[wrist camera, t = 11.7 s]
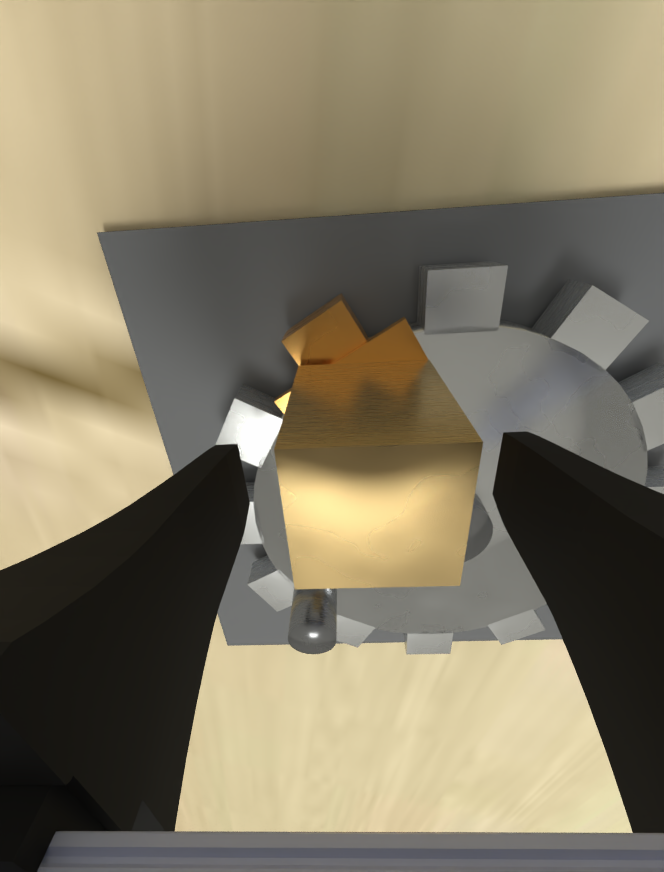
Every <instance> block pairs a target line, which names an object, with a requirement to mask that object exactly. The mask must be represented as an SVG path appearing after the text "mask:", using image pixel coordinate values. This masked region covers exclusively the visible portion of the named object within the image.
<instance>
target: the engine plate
mask: <svg viewBox="0 0 664 872" xmlns="http://www.w3.org/2000/svg"><path fill="white" fill-rule="evenodd" d="M97 234H98V237H99V240H100V244H101V247H102V250H103V253H104V256H105V259H106V262H107V266H108V269H109V272H110V275H111V278H112V281H113V285H114V288H115V291H116V294H117V297H118V300H119V304H120V307H121V310H122V313H123V316H124V319H125V322H126V326H127V329H128V332H129V335H130V338H131V341H132V345H133V348H134V351H135V354H136V357H137V360H138V364H139V367H140V370H141V373H142V376H143V379H144V382H145V386H146V389H147V392H148V395H149V398H150V401H151V405H152V408H153V411H154V414H155V417H156V420H157V424H158V427H159V430H160V433H161V436H162V439H163V443H164V446H165V449H166V452H167V455H168V458H169V461H170V465H171V468H172V471H173V474H176V473H177V472H178V471H180V470H181V469H182V468H184V467H185V466H186V465H188V464H189V463H190V462H192V461H193V460H195V459H196V458H197V457H199V456H200V455H201V454H203V453H204V452H206V451H207V450H208V449H210V448H211V447H213V446H215V445H216V442H217V440H218V437H219V435H220V433H221V430H222V428H223V425H224V423H225V420H226V418H227V415H228V413H229V410H230V408H231V405H232V403H233V401H234V398H235V396H236V395H237V393H238V391H239V390H240V388H241V386H242V385H243V384H245V385H247V386H249V387H251V388H254V389H256V390H258V391H260V392H262V393H265V394H267V395H269V396H271V397H273V398H277V397H278V396H280V395H281V394H283V393H284V392H286V391H288V390H289V389H291V388H292V386H293V383H294V379H295V376H296V372H297V369H298V366H299V365H298V364H297V363H296V361H295V360H294V358H293V357H292V356H291V354H290V353H289V352H288V350H287V349H286V347H285V346H284V345H283V343H282V342H281V341H282V339H283V337H284V335H285V333H286V331H287V330H289V329H290V328H292V327H293V326H295V325H296V324H298V323H299V322H300V321H302V320H303V319H305V318H306V317H308V316H309V315H311V314H312V313H313V312H315V311H316V310H318V309H319V308H321V307H322V306H324V305H325V304H326V303H328V302H329V301H331V300H332V299H334V298H335V297H337V296H338V295H340V294H341V293H342V295H343V297H344V298H345V300H346V302H347V303H348V305H349V306H350V308H351V310H352V311H353V313H354V315H355V316H356V318H357V319H358V321H359V323H360V324H361V326H362V328H363V329H364V331H365V332H366V334H367V336H368V337H371V336H373V335H376V334H377V333H379V332H381V331H382V330H384V329H385V328H387V327H388V326H390V325H392V324H393V323H395V322H396V321H398V320H399V319H401V318H403V317H405V318H406V320H407V322H408V324H410V323H414V322H417V308H418V286H419V266H428V265H443V264H459V263H474V262H490V261H492V262H496V263H500V264H504V265H508V269H507V276H506V283H505V289H504V296H503V303H502V309H501V316H500V320H503V321H510V322H513V323H516V324H520V325H523V326H526V327H530V328H532V327H533V326H534V325H535V323H536V322H537V321H538V319H539V318H540V317H541V315H542V314H543V313H544V311H545V310H546V309H547V307H548V306H549V305H550V303H551V302H552V301H553V299H554V298H555V297H556V295H557V294H558V293H559V291H560V290H561V289H562V287H563V286H564V285H565V283H566V282H567V281H568V279H570V280H574V281H578V282H582V283H586V284H590V285H593V286H595V287H596V288H598V289H599V290H601V291H603V292H604V293H606V294H607V295H609V296H611V297H612V298H614V299H615V300H617V301H618V302H620V303H622V304H623V305H625V306H626V307H628V308H630V309H631V310H633V311H634V312H636V313H637V314H639V315H641V316H642V317H644V318H645V319H647V320H649V322H648V323H647V324H646V325H645V326H644V327H643V328H642V330H641V331H640V332H639V333H638V334H637V335H636V336H635V337H634V339H633V340H632V341H631V342H630V343H629V344H628V345H627V346H626V348H625V349H624V350H623V351H622V352H621V353H620V354H619V355H618V356H617V358H616V359H615V360H614V361H613V362H612V363H611V364H610V365H609V367H608V368H607V369H606V371H607V372H608V373H609V374H610V375H611V376H612V377H613V378H614V379H615V380H616V381H617V382H620V381H622V380H624V379H626V378H628V377H630V376H632V375H634V374H636V373H638V372H640V371H642V370H644V369H646V368H649V367H651V366H653V365H655V364H657V363H661V364H663V365H664V193H657V194H643V195H629V196H614V197H600V198H586V199H572V200H557V201H543V202H529V203H514V204H500V205H486V206H471V207H457V208H443V209H428V210H414V211H400V212H385V213H371V214H357V215H342V216H328V217H314V218H299V219H285V220H271V221H256V222H242V223H228V224H213V225H199V226H185V227H170V228H156V229H142V230H127V231H113V232H99V233H97ZM241 462H242V467H243V472H244V477H245V482H255V479H256V474H257V470H258V467H257V466H255V465H252V464H250V463H248V462H245V461H243V460H241ZM652 466H664V444H662V445H659V446H657V447H655V448H653V449H650V450H648V451H647V467H652ZM265 556H267V553H266V551H265V549H264V547H263V545H262V544H240V547H239V550H238V553H237V556H236V559H235V562H234V565H233V568H232V571H231V574H230V577H229V580H228V583H227V585H226V588H225V591H224V594H223V597H222V600H221V603H220V606H219V609H218V612H217V613H218V616H219V619H220V623H221V626H222V629H223V632H224V635H225V638H226V641H227V645H228V646H229V645H282V644H289V642H288V631H289V623H290V615H291V608H292V606H289V607H287V608H285V609H282V610H280V611H278V612H277V611H276V610H275V609H274V608H273V607H271V606H270V605H269V604H268V603H267V602H266V601H265V600H264V599H263V598H262V597H260V596H259V595H258V594H257V593H256V592H255V591H254V590H253V589H252V588H250V587H249V586H248V585H247V584H248V580H249V576H250V572H251V568H252V565H253V562H254V561H256V560H258V559H260V558H263V557H265ZM535 610H536V612H537V614H538V616H539V618H540V620H541V622H542V624H543V625H544V627H545V629H546V630H544V631H541V632H538V633H535V634H532V635H529V636H526V637H523V638H520V639H517V640H543V639H562V636H561V634H560V632H559V629H558V627H557V625H556V622H555V620H554V618H553V615H552V613H551V611H550V609H549V607H548V605H547V604H545V605H543V606H541V607H539V608H537V609H535ZM491 640H498V639H497V638H496V636H495V635H494V634H493V632H492V631H491V629H490V628H489V627H483V628H479V629H474V630H469V631H462V632H455V633H453V638H452V641H491ZM386 642H404V636H403V633H397V632H389V631H383V630H378V629H374V630H373V631H372V632H371V633H370V634H369V635H368V637H367V638H366V639H365V640H364V641H363V642H362V643H386ZM336 643H342V642H339V641H336Z"/></svg>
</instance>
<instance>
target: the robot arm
mask: <svg viewBox="0 0 664 872" xmlns="http://www.w3.org/2000/svg"><path fill="white" fill-rule="evenodd" d="M492 494H493V497H494V500H495V503H496V506H497V509H498V511H499V514H500V517H501V519H502V522H503V524H504V526H505V528H506V530H507V532H508V534H509V536H510V538H511V540H512V541H513V543H514V545H515V547H516V549H517V551H518V552H519V554H520V556H521V558H522V560H523V561H524V563H525V565H526V567H527V569H528V570H529V572H530V574H531V576H532V578H533V579H534V581H535V583H536V585H537V587H538V588H539V590H540V592H541V594H542V596H543V597H544V599H545V601H546V603H547V605H548V607H549V609H550V611H551V613H552V615H553V618H554V620H555V622H556V625H557V627H558V629H559V632H560V634H561V636H562V639H563V641H564V643H565V646H566V648H567V650H568V653H569V655H570V658H571V660H572V663H573V665H574V668H575V670H576V673H577V675H578V678H579V680H580V683H581V685H582V688H583V690H584V693H585V695H586V698H587V701H588V703H589V706H590V709H591V712H592V714H593V717H594V720H595V723H596V725H597V728H598V731H599V734H600V736H601V739H602V742H603V745H604V747H605V750H606V753H607V756H608V758H609V761H610V764H611V767H612V770H613V773H614V776H615V779H616V783H617V786H618V789H619V792H620V795H621V798H622V801H623V804H624V807H625V810H626V813H627V816H628V819H629V822H630V825H631V828H632V832H633V833H485V832H174V831H175V824H176V817H177V811H178V805H179V799H180V793H181V787H182V781H183V775H184V769H185V763H186V757H187V752H188V746H189V741H190V736H191V730H192V725H193V720H194V714H195V709H196V704H197V699H198V694H199V690H200V685H201V680H202V675H203V671H204V666H205V661H206V657H207V652H208V648H209V644H210V640H211V635H212V631H213V627H214V623H215V619H216V616H217V612H218V609H219V606H220V603H221V600H222V597H223V594H224V591H225V588H226V585H227V583H228V580H229V577H230V574H231V571H232V568H233V565H234V562H235V559H236V556H237V553H238V550H239V547H240V544H241V541H242V538H243V535H244V531H245V526H246V521H247V516H248V510H249V505H250V501H249V496H248V491H247V486H246V482H245V477H244V472H243V467H242V462H241V458H240V453H239V448H238V444H223V445H215V446H213V447H211V448H210V449H208V450H207V451H206V452H204V453H203V454H201V455H200V456H199V457H197V458H196V459H195V460H193V461H192V462H190V463H189V464H188V465H186V466H185V467H184V468H182V469H181V470H180V471H178V472H177V473H176V474H174V475H173V476H172V477H170V478H169V479H167V480H166V481H165V482H163V483H162V484H160V485H159V486H157V487H156V488H154V489H153V490H152V491H150V492H149V493H147V494H146V495H144V496H143V497H141V498H140V499H138V500H137V501H135V502H134V503H132V504H131V505H129V506H128V507H126V508H124V509H123V510H121V511H119V512H118V513H116V514H114V515H113V516H111V517H109V518H108V519H106V520H104V521H102V522H100V523H99V524H97V525H95V526H93V527H92V528H90V529H88V530H86V531H84V532H82V533H80V534H78V535H76V536H74V537H72V538H70V539H68V540H66V541H64V542H62V543H60V544H58V545H56V546H54V547H52V548H50V549H47V550H45V551H43V552H41V553H39V554H37V555H35V556H33V557H31V558H28V559H26V560H24V561H21V562H19V563H17V564H14V565H12V566H10V567H7V568H5V569H3V570H0V872H664V494H662V493H660V492H657V491H655V490H652V489H650V488H648V487H646V486H643V485H641V484H639V483H636V482H634V481H632V480H630V479H627V478H625V477H623V476H621V475H618V474H616V473H614V472H612V471H610V470H608V469H606V468H603V467H601V466H599V465H597V464H595V463H593V462H591V461H589V460H587V459H585V458H583V457H581V456H579V455H577V454H575V453H573V452H571V451H569V450H567V449H565V448H563V447H561V446H559V445H557V444H555V443H553V442H551V441H548V440H546V439H544V438H542V437H540V436H538V435H535V434H533V433H530V432H527V431H523V432H503V437H502V442H501V448H500V454H499V459H498V465H497V470H496V476H495V481H494V487H493V493H492Z"/></svg>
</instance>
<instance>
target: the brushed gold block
mask: <svg viewBox="0 0 664 872" xmlns="http://www.w3.org/2000/svg"><path fill="white" fill-rule="evenodd" d="M482 447H483V441H482V439H481V438H480V436H479V435H478V433H477V432H476V430H475V429H474V427H473V425H472V424H471V422H470V421H469V419H468V418H467V416H466V415H465V413H464V412H463V410H462V409H461V407H460V406H459V404H458V403H457V401H456V400H455V398H454V396H453V395H452V393H451V392H450V390H449V389H448V387H447V386H446V384H445V383H444V381H443V380H442V378H441V377H440V375H439V374H438V372H437V371H436V369H435V367H434V366H433V364H432V363H431V361H430V360H411V361H389V362H367V363H345V364H323V365H301V366H298V369H297V372H296V376H295V379H294V383H293V386H292V389H291V393H290V396H289V400H288V403H287V407H286V410H285V413H284V417H283V420H282V424H281V427H280V431H279V434H278V437H277V441H276V444H275V448H274V453H275V460H276V466H277V473H278V480H279V487H280V493H281V500H282V507H283V514H284V521H285V527H286V534H287V541H288V548H289V554H290V561H291V568H292V575H293V582H294V588H295V589H334V588H383V587H431V586H460V583H461V577H462V571H463V565H464V559H465V552H466V546H467V540H468V534H469V527H470V521H471V515H472V509H473V503H474V496H475V490H476V484H477V478H478V471H479V465H480V459H481V453H482Z"/></svg>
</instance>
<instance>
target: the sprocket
mask: <svg viewBox="0 0 664 872" xmlns="http://www.w3.org/2000/svg"><path fill="white" fill-rule="evenodd" d="M507 269H508V265H504V264H500V263H496V262H492V261H490V262H474V263H459V264H443V265H428V266H419V286H418V308H417V322H414V323H410V324H408V322H407V320H406V318H405V317H403V318H401V319H399V320H398V321H396V322H395V323H393V324H392V325H390V326H388V327H387V328H385V329H384V330H382V331H381V332H379V333H377V334H376V335H373V336H371V337H368V336H367V334H366V332H365V331H364V329H363V328H362V326H361V324H360V323H359V321H358V319H357V318H356V316H355V315H354V313H353V311H352V310H351V308H350V306H349V305H348V303H347V302H346V300H345V298H344V297H343V295H342V293H341V294H340V295H338V296H337V297H335V298H334V299H332V300H331V301H329V302H328V303H326V304H325V305H324V306H322V307H321V308H319V309H318V310H316V311H315V312H313V313H312V314H311V315H309V316H308V317H306V318H305V319H303V320H302V321H300V322H299V323H298V324H296V325H295V326H293V327H292V328H290V329H289V330H287V331H286V333H285V335H284V337H283V339H282V341H281V342H282V343H283V345H284V346H285V347H286V349H287V350H288V352H289V353H290V354H291V356H292V357H293V358H294V360H295V361H296V363H297V364H298V365H299V366H301V365H323V364H345V363H367V362H389V361H411V360H430V361H431V363H432V364H433V366H434V367H435V369H436V371H437V372H438V374H439V375H440V377H441V378H442V380H443V381H444V383H445V384H446V386H447V387H448V389H449V390H450V392H451V393H452V395H453V396H454V398H455V400H456V401H457V403H458V404H459V406H460V407H461V409H462V410H463V412H464V413H465V415H466V416H467V418H468V419H469V421H470V422H471V424H472V425H473V427H474V429H475V430H476V432H477V433H478V435H479V436H480V438H481V439H482V441H483V447H482V453H481V459H480V465H479V471H478V478H477V484H476V490H475V496H474V503H473V509H472V515H471V521H470V527H469V534H468V540H467V546H466V552H465V559H464V565H463V571H462V577H461V583H460V586H431V587H383V588H334V589H295V588H294V582H293V575H292V568H291V561H290V554H289V548H288V541H287V534H286V527H285V521H284V514H283V507H282V500H281V493H280V487H279V480H278V473H277V466H276V460H275V453H274V448H275V444H276V441H277V437H278V434H279V431H280V427H281V424H282V420H283V417H284V413H285V410H286V407H287V403H288V400H289V396H290V393H291V389H292V388H291V389H289V390H288V391H286V392H284V393H283V394H281V395H280V396H278V397H277V398H273V397H271V396H269V395H267V394H265V393H262V392H260V391H258V390H256V389H254V388H251V387H249V386H247V385H245V384H243V385H242V386H241V388H240V390H239V391H238V393H237V395H236V396H235V398H234V401H233V403H232V405H231V408H230V410H229V413H228V415H227V418H226V420H225V423H224V425H223V428H222V430H221V433H220V435H219V437H218V440H217V442H216V445H223V444H238V448H239V453H240V458H241V460H243V461H245V462H248V463H250V464H252V465H255V466H257V467H258V470H257V474H256V479H255V482H246V486H247V491H248V496H249V501H250V505H249V510H248V516H247V521H246V526H245V531H244V535H243V538H242V541H241V544H262V545H263V547H264V549H265V551H266V553H267V556H265V557H263V558H260V559H258V560H256V561H254V562H253V565H252V568H251V572H250V576H249V580H248V584H247V585H248V586H249V587H250V588H252V589H253V590H254V591H255V592H256V593H257V594H258V595H259V596H260V597H262V598H263V599H264V600H265V601H266V602H267V603H268V604H269V605H270V606H271V607H273V608H274V609H275V610H276V611H277V612H278V611H280V610H282V609H285V608H287V607H289V606H292V608H291V615H290V623H289V631H288V642H289V644H290V645H291V646H292V647H293V648H294V649H295V650H297V651H299V652H302V653H307V654H320V653H324V652H327V651H329V650H331V649H332V648H333V647H334V646H335V644H336V641H339V642H342V643H346V644H349V645H352V646H355V647H359V645H360V644H361V643H362V642H363V641H364V640H365V639H366V638H367V637H368V635H369V634H370V633H371V632H372V631H373V630H374V629H378V630H383V631H389V632H397V633H403V636H404V642H405V649H406V654H450V652H451V645H452V638H453V633H455V632H462V631H469V630H474V629H479V628H483V627H489V628H490V629H491V631H492V632H493V634H494V635H495V636H496V638H497V639H498V640H499V642H500V643H501V645H502V644H505V643H508V642H511V641H514V640H517V639H520V638H523V637H526V636H529V635H532V634H535V633H538V632H541V631H544V630H546V629H545V627H544V625H543V624H542V622H541V620H540V618H539V616H538V614H537V612H536V610H535V609H537V608H539V607H541V606H543V605H545V604H547V603H546V601H545V599H544V597H543V596H542V594H541V592H540V590H539V588H538V587H537V585H536V583H535V581H534V579H533V578H532V576H531V574H530V572H529V570H528V569H527V567H526V565H525V563H524V561H523V560H522V558H521V556H520V554H519V552H518V551H517V549H516V547H515V545H514V543H513V541H512V540H511V538H510V536H509V534H508V532H507V530H506V528H505V526H504V524H503V522H502V519H501V517H500V514H499V511H498V509H497V506H496V503H495V500H494V497H493V494H492V493H493V487H494V481H495V476H496V470H497V465H498V459H499V454H500V448H501V442H502V437H503V432H523V431H527V432H530V433H533V434H535V435H538V436H540V437H542V438H544V439H546V440H548V441H551V442H553V443H555V444H557V445H559V446H561V447H563V448H565V449H567V450H569V451H571V452H573V453H575V454H577V455H579V456H581V457H583V458H585V459H587V460H589V461H591V462H593V463H595V464H597V465H599V466H601V467H603V468H606V469H608V470H610V471H612V472H614V473H616V474H618V475H621V476H623V477H625V478H627V479H630V480H632V481H634V482H636V483H639V484H641V485H643V486H646V487H648V488H650V489H652V490H655V491H657V492H660V493H662V494H664V466H652V467H647V451H648V450H650V449H653V448H655V447H657V446H659V445H662V444H664V365H663V364H661V363H657V364H655V365H653V366H651V367H649V368H646V369H644V370H642V371H640V372H638V373H636V374H634V375H632V376H630V377H628V378H626V379H624V380H622V381H620V382H617V381H616V380H615V379H614V378H613V377H612V376H611V375H610V374H609V373H608V372H607V371H606V369H607V368H608V367H609V365H610V364H611V363H612V362H613V361H614V360H615V359H616V358H617V356H618V355H619V354H620V353H621V352H622V351H623V350H624V349H625V348H626V346H627V345H628V344H629V343H630V342H631V341H632V340H633V339H634V337H635V336H636V335H637V334H638V333H639V332H640V331H641V330H642V328H643V327H644V326H645V325H646V324H647V323H648V322H649V320H647V319H645V318H644V317H642V316H641V315H639V314H637V313H636V312H634V311H633V310H631V309H630V308H628V307H626V306H625V305H623V304H622V303H620V302H618V301H617V300H615V299H614V298H612V297H611V296H609V295H607V294H606V293H604V292H603V291H601V290H599V289H598V288H596V287H595V286H593V285H590V284H586V283H582V282H578V281H574V280H570V279H568V281H567V282H566V283H565V285H564V286H563V287H562V289H561V290H560V291H559V293H558V294H557V295H556V297H555V298H554V299H553V301H552V302H551V303H550V305H549V306H548V307H547V309H546V310H545V311H544V313H543V314H542V315H541V317H540V318H539V319H538V321H537V322H536V323H535V325H534V326H533V327H532V328H530V327H526V326H523V325H520V324H516V323H513V322H510V321H503V320H500V316H501V309H502V303H503V296H504V289H505V283H506V276H507Z"/></svg>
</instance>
